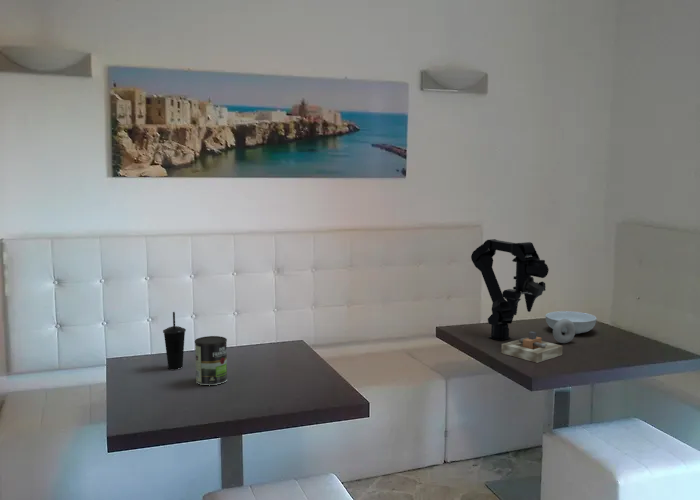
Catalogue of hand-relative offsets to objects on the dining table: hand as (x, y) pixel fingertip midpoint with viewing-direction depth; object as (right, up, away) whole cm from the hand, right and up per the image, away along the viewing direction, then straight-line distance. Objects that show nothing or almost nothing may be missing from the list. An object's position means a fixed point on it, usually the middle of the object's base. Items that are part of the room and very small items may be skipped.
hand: (522, 313), depth 261 cm
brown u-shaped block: (+1, -13, -11) cm, 17 cm away
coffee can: (-114, -19, -43) cm, 123 cm away
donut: (+18, -13, +5) cm, 23 cm away
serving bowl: (+27, -10, +24) cm, 37 cm away
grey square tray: (+1, -14, -10) cm, 18 cm away
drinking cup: (-129, -17, -29) cm, 133 cm away
